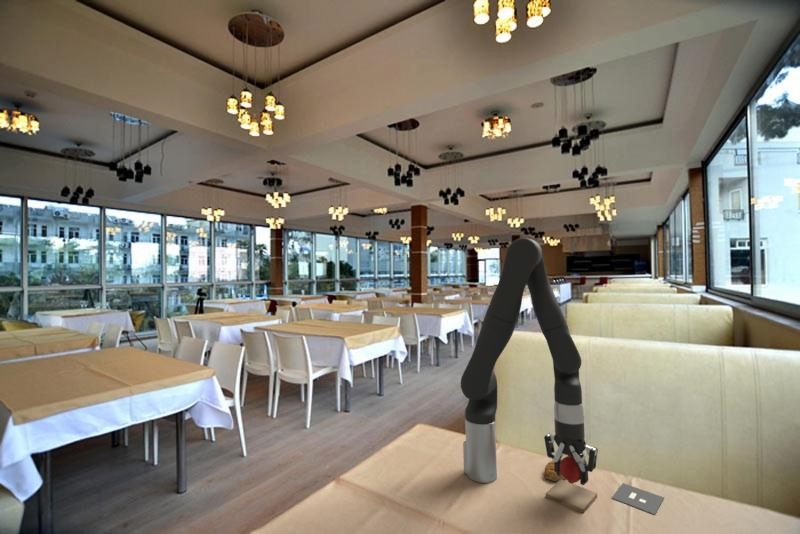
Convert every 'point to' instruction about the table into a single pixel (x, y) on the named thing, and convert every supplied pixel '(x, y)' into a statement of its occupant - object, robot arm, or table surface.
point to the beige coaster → (571, 495)
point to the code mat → (638, 498)
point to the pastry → (552, 472)
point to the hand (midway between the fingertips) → (571, 478)
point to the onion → (570, 469)
